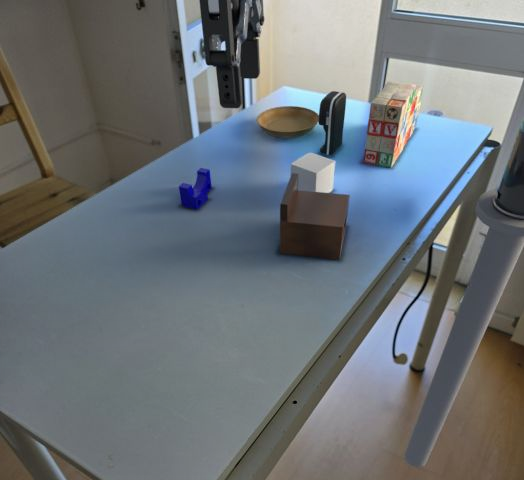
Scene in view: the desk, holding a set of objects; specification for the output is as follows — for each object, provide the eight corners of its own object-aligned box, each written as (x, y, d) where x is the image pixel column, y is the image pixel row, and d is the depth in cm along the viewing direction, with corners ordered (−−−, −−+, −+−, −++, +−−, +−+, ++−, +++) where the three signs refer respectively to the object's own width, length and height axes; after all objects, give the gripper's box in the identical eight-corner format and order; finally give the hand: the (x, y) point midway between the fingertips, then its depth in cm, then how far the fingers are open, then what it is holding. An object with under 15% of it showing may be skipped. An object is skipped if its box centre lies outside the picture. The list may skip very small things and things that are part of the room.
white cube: (290, 193, 93) (290, 163, 89) (308, 181, 96) (309, 152, 92) (315, 203, 90) (316, 173, 86) (332, 190, 93) (335, 160, 89)
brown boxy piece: (346, 226, 85) (351, 177, 78) (339, 259, 78) (345, 210, 71) (291, 221, 86) (291, 173, 79) (280, 253, 80) (279, 203, 73)
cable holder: (197, 209, 90) (194, 190, 87) (181, 205, 91) (178, 186, 88) (218, 190, 95) (216, 170, 92) (203, 186, 96) (200, 167, 93)
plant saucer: (290, 148, 106) (290, 137, 104) (244, 131, 113) (243, 119, 111) (331, 127, 113) (332, 116, 111) (285, 112, 120) (285, 101, 118)
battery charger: (326, 141, 108) (330, 87, 100) (342, 144, 107) (347, 89, 98) (314, 154, 104) (317, 98, 96) (331, 157, 103) (335, 101, 94)
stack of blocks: (389, 124, 113) (399, 67, 104) (415, 128, 111) (427, 70, 102) (362, 163, 100) (370, 101, 91) (391, 168, 98) (402, 106, 89)
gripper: (250, -116, 34) (261, 120, 46) (285, -130, 43) (287, 69, 55) (152, -111, 35) (187, 117, 47) (206, -125, 44) (224, 68, 56)
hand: (241, 91), depth 51 cm, fingers open, 8 cm apart
